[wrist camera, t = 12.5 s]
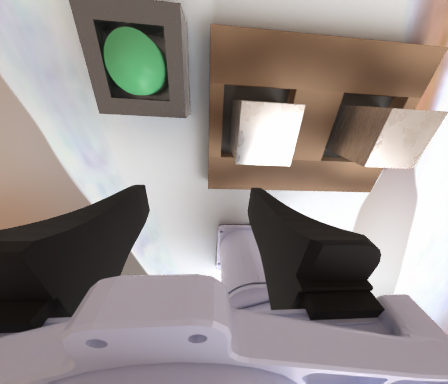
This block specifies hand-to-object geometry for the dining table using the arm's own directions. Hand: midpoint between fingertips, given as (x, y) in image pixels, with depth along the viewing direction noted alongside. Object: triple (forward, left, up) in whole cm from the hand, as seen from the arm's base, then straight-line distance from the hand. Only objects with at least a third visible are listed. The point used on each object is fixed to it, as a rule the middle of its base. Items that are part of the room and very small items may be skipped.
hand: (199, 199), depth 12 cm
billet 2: (+4, -16, -9) cm, 19 cm away
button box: (+8, +5, -9) cm, 13 cm away
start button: (+8, +5, -8) cm, 13 cm away
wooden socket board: (+4, -11, -9) cm, 15 cm away
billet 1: (+4, -5, -9) cm, 11 cm away
